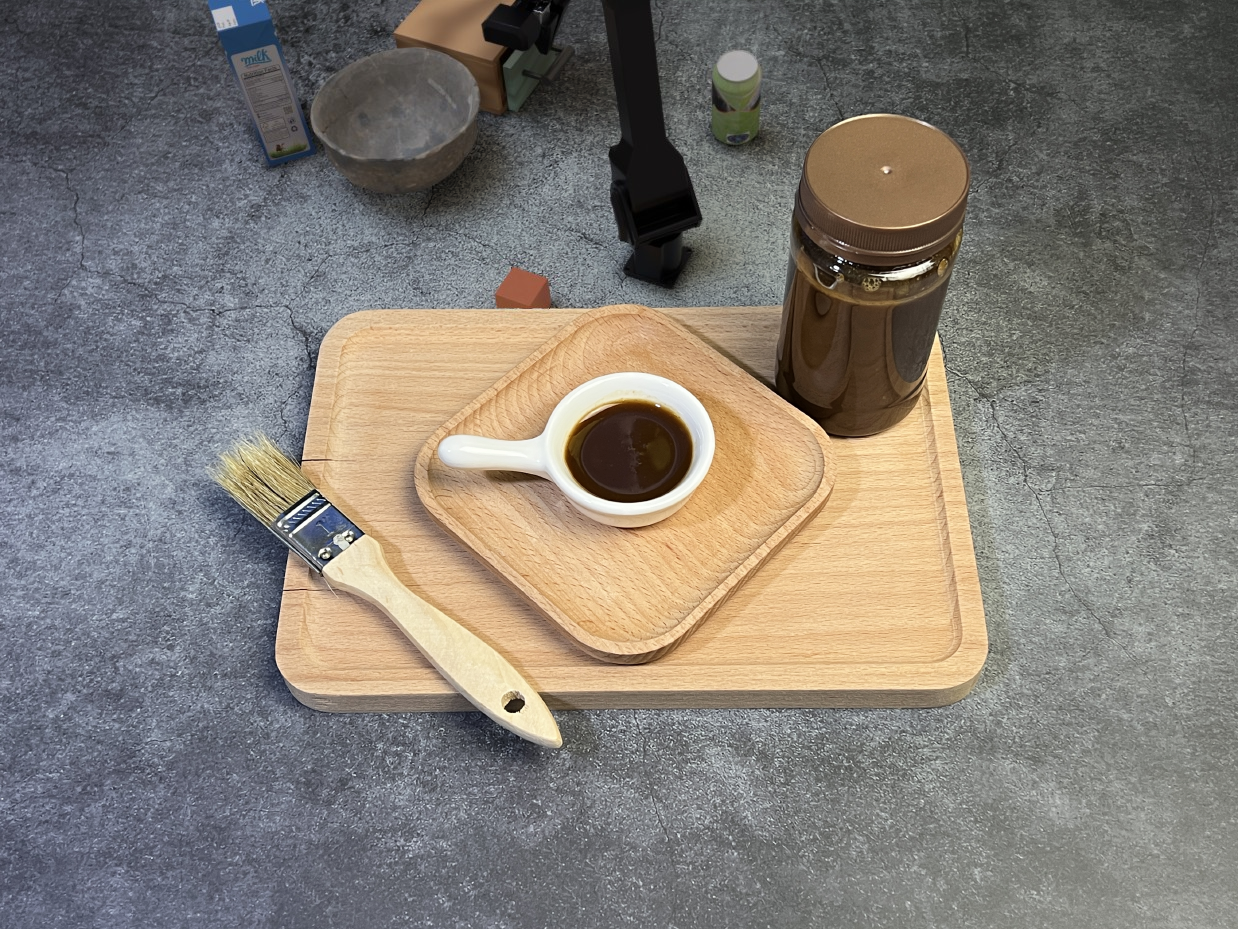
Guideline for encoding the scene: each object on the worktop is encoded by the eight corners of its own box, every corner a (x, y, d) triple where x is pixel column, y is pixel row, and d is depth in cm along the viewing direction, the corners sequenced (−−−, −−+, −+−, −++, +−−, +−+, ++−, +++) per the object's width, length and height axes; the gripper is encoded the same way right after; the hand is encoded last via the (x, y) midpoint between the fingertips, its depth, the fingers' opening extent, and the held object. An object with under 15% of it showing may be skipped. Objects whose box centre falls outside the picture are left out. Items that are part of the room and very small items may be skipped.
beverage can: (758, 118, 144) (766, 38, 134) (757, 157, 140) (764, 78, 130) (710, 116, 144) (714, 36, 134) (707, 154, 140) (711, 76, 130)
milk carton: (316, 153, 142) (271, 18, 126) (269, 167, 141) (217, 32, 125) (299, 106, 148) (253, -30, 131) (253, 119, 146) (201, -17, 130)
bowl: (395, 91, 149) (379, 27, 140) (522, 142, 143) (513, 77, 134) (296, 186, 139) (273, 123, 131) (427, 245, 133) (412, 183, 125)
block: (533, 332, 125) (529, 306, 122) (499, 319, 127) (494, 293, 123) (551, 304, 128) (548, 278, 124) (517, 292, 129) (513, 266, 125)
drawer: (584, 68, 149) (581, 24, 143) (546, 120, 143) (541, 76, 138) (469, 35, 153) (462, -9, 148) (427, 85, 148) (418, 41, 142)
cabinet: (543, 58, 151) (538, 3, 144) (500, 115, 145) (492, 60, 138) (451, 33, 155) (441, -23, 148) (405, 87, 149) (393, 32, 142)
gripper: (509, -117, 135) (522, -3, 148) (433, -33, 126) (454, 80, 139) (591, -98, 132) (597, 16, 146) (519, -11, 124) (532, 103, 137)
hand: (544, 52), depth 142 cm, fingers closed
